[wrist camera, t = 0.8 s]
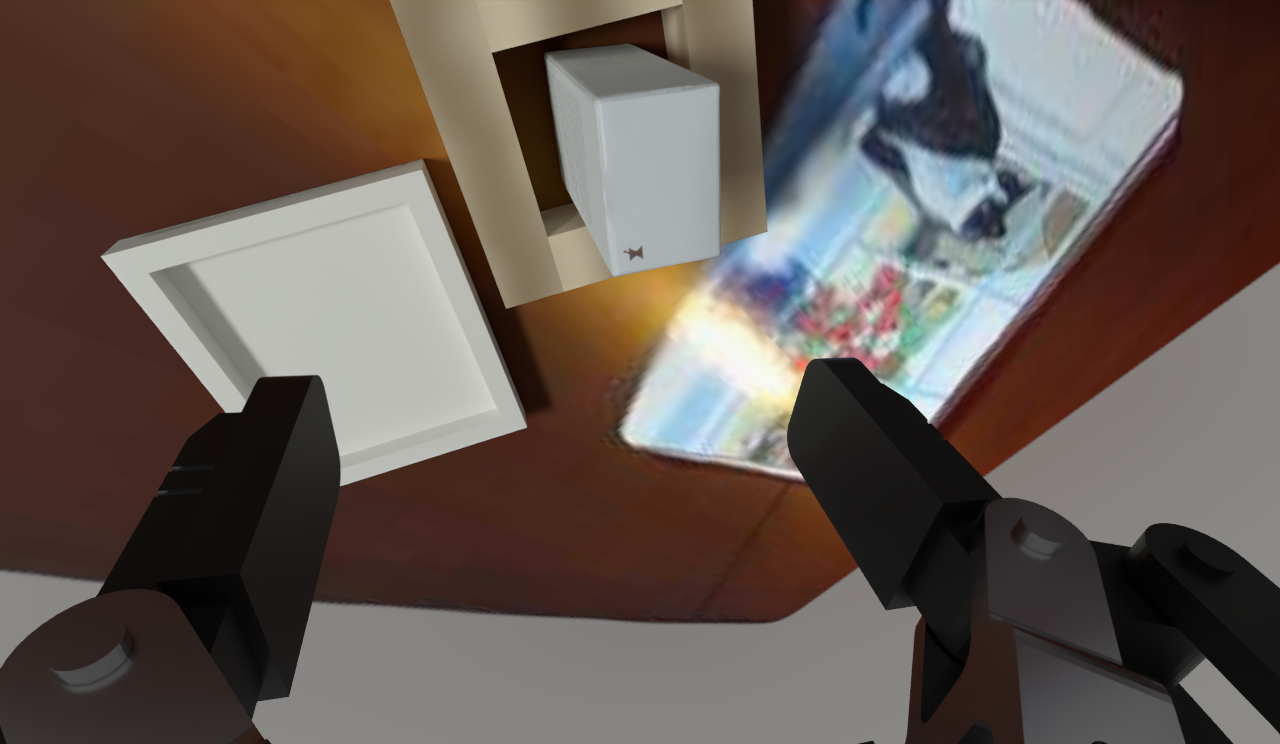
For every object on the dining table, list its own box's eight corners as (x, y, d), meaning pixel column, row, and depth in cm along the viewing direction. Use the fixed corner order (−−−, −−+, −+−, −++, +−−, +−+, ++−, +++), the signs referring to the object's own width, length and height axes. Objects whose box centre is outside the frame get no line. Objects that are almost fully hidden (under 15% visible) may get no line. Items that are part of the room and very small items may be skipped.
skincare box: (641, 168, 32) (723, 262, 22) (560, 180, 31) (609, 283, 22) (632, 36, 28) (725, 81, 19) (540, 47, 28) (588, 99, 18)
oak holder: (713, -99, 26) (745, -105, 23) (741, 208, 34) (767, 231, 32) (390, -22, 25) (383, -18, 22) (501, 278, 33) (506, 308, 30)
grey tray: (422, 158, 29) (421, 169, 27) (524, 409, 38) (527, 427, 37) (118, 240, 28) (100, 256, 26) (302, 478, 37) (296, 500, 36)
